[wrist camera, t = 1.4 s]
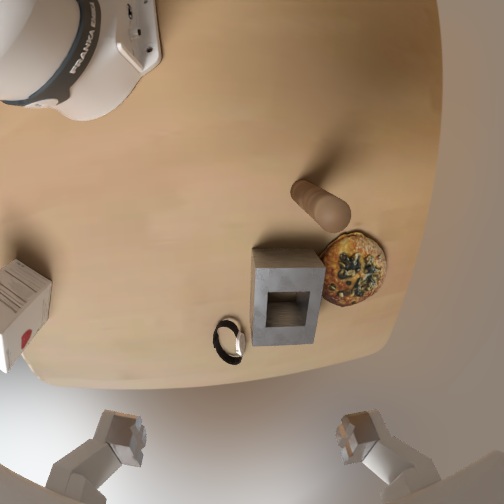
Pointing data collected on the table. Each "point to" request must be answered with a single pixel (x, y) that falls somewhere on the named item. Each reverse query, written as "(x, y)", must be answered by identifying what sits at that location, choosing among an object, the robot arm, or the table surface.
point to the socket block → (285, 280)
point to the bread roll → (352, 269)
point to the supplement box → (20, 309)
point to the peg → (321, 206)
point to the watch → (239, 343)
